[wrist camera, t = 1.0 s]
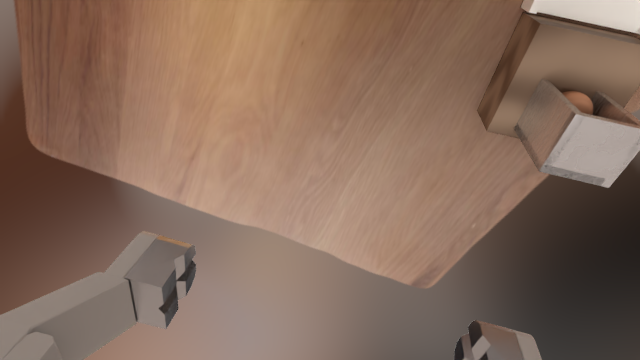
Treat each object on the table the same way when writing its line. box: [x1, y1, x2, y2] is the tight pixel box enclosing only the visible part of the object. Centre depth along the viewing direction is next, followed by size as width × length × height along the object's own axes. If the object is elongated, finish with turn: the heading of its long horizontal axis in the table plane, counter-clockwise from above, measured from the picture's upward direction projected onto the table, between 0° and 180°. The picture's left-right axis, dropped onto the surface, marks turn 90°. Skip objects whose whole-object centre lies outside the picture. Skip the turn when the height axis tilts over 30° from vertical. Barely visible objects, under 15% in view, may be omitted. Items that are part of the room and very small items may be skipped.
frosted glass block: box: [514, 79, 640, 188], centre depth 36 cm, size 6×7×9 cm
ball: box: [562, 91, 593, 115], centre depth 37 cm, size 4×4×4 cm
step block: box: [477, 12, 640, 138], centre depth 41 cm, size 12×12×6 cm
